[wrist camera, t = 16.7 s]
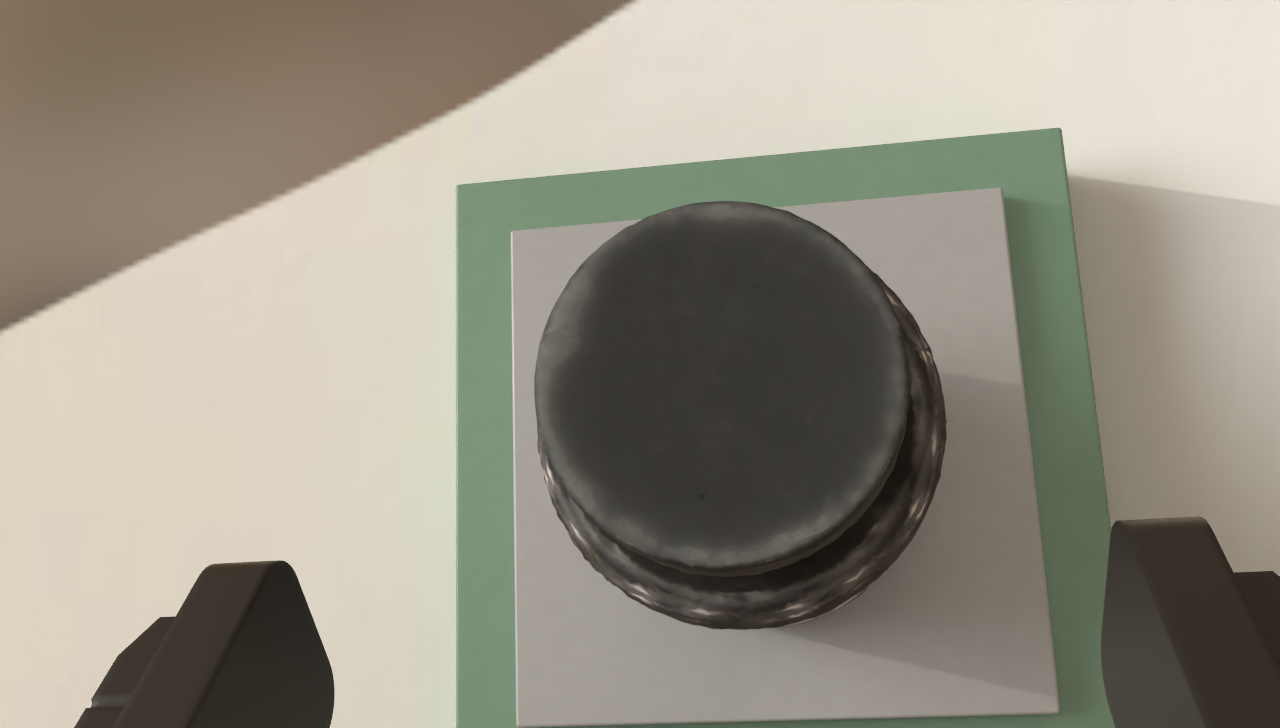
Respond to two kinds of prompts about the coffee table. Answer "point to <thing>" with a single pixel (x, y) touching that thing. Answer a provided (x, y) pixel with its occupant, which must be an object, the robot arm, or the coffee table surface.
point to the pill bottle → (736, 417)
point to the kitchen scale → (949, 534)
